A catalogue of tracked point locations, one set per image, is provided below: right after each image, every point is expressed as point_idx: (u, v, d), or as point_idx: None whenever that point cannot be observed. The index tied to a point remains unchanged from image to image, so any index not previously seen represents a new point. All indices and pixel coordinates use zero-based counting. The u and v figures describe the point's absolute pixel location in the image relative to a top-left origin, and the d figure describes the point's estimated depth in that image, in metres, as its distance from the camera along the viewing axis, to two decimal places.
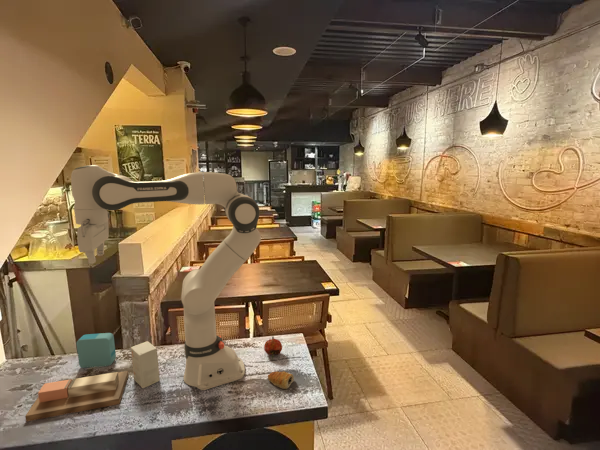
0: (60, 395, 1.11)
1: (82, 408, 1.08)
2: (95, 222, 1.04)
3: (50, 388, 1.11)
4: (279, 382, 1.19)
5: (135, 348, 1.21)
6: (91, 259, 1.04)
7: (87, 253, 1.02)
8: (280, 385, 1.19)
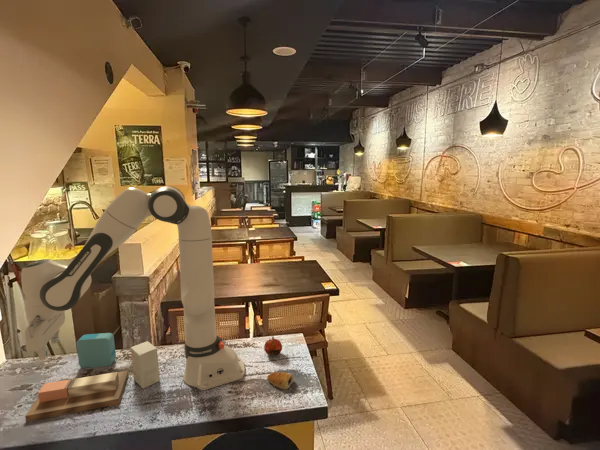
0: (60, 395, 1.11)
1: (82, 408, 1.08)
2: (46, 318, 1.04)
3: (50, 388, 1.11)
4: (279, 383, 1.18)
5: (135, 348, 1.21)
6: (41, 354, 1.05)
7: None
8: (280, 386, 1.18)
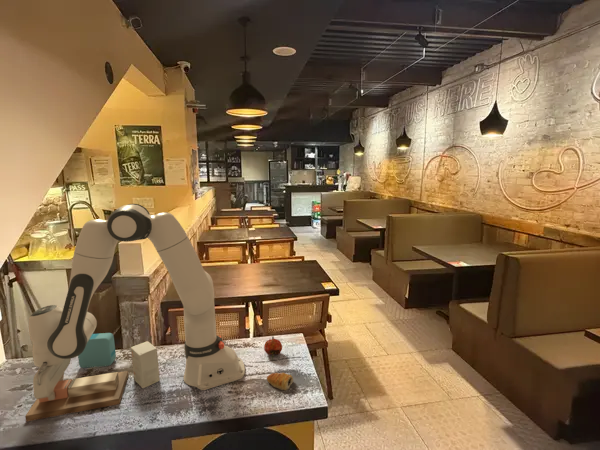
0: (60, 395, 1.11)
1: (82, 408, 1.08)
2: (53, 363, 1.07)
3: None
4: (279, 383, 1.18)
5: (135, 348, 1.21)
6: (51, 396, 1.09)
7: None
8: (280, 386, 1.18)
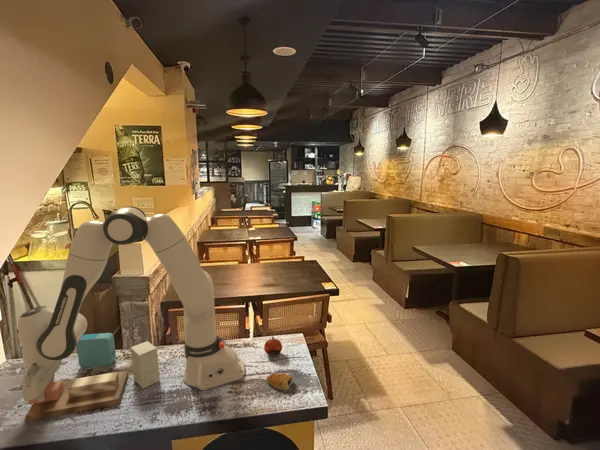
0: (50, 397, 1.10)
1: (82, 408, 1.08)
2: (42, 365, 1.06)
3: None
4: (279, 384, 1.18)
5: (135, 348, 1.21)
6: (40, 398, 1.08)
7: None
8: (280, 387, 1.18)
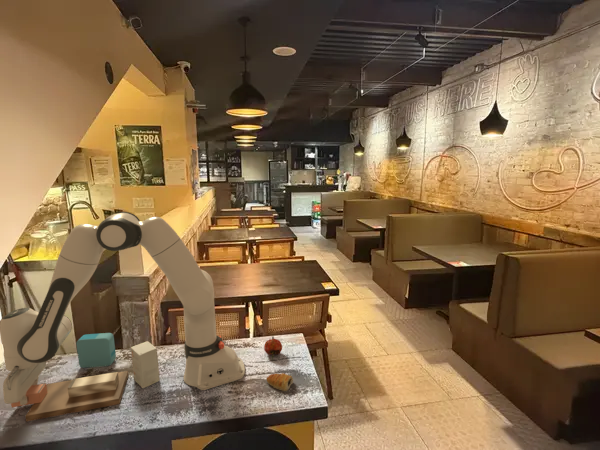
0: (33, 400, 1.09)
1: (82, 408, 1.08)
2: (24, 367, 1.05)
3: None
4: (279, 384, 1.18)
5: (135, 348, 1.21)
6: (23, 401, 1.07)
7: None
8: (280, 387, 1.17)
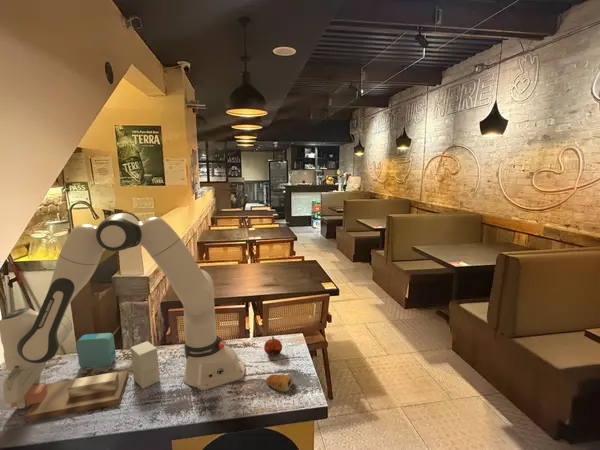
0: (33, 400, 1.09)
1: (82, 408, 1.08)
2: (25, 367, 1.05)
3: None
4: (279, 385, 1.17)
5: (135, 348, 1.21)
6: (21, 404, 1.05)
7: None
8: (280, 388, 1.17)
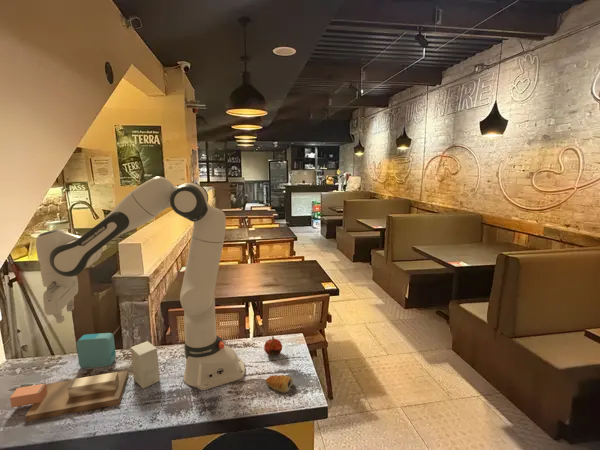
0: (33, 400, 1.09)
1: (82, 408, 1.08)
2: (61, 284, 1.10)
3: (23, 393, 1.09)
4: (279, 386, 1.17)
5: (135, 348, 1.21)
6: (59, 319, 1.10)
7: (54, 314, 1.08)
8: (280, 389, 1.17)
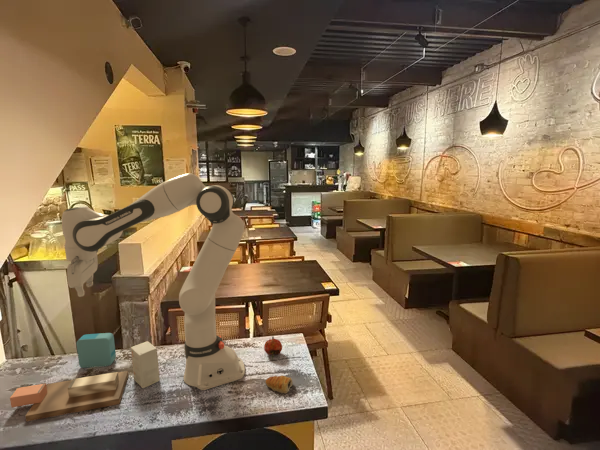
0: (33, 400, 1.09)
1: (82, 408, 1.08)
2: (84, 259, 1.14)
3: (23, 393, 1.09)
4: (279, 387, 1.16)
5: (135, 348, 1.21)
6: (80, 292, 1.14)
7: (76, 287, 1.12)
8: (280, 390, 1.16)
